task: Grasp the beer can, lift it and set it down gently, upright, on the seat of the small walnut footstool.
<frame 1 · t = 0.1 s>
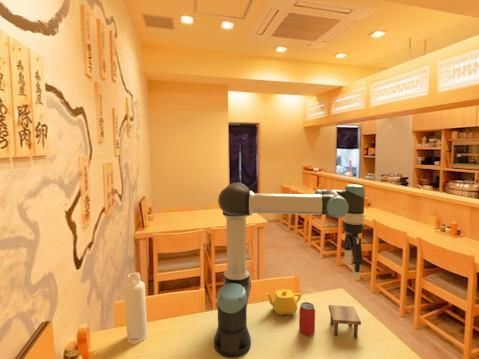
hand: (351, 271, 117), 28 cm above the table, fingers open, 13 cm apart
stool: (343, 329, 122), on the table
bottle: (137, 337, 118), on the table
teapot: (283, 311, 136), on the table
beer can: (306, 331, 121), on the table
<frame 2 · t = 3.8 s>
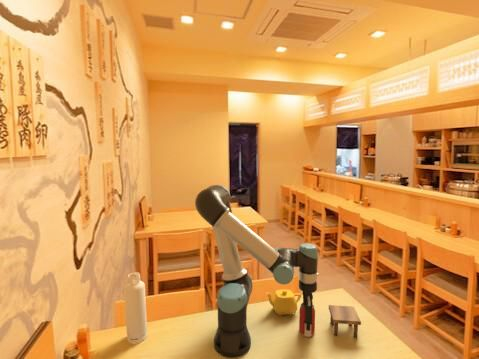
hand: (306, 330, 121), 1 cm above the table, fingers closed on beer can, 7 cm apart
beer can: (306, 331, 121), on the table, touching gripper
everything else where it was.
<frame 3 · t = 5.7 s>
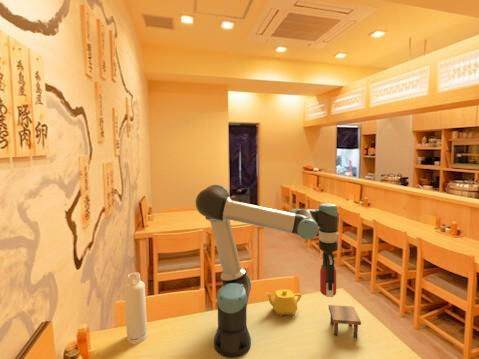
hand: (328, 291, 119), 18 cm above the table, fingers closed on beer can, 7 cm apart
beer can: (328, 293, 119), point 17 cm above the table, touching gripper
everything else where it was.
when the fingers open (10 cm above the table, at t = 7.8 s): beer can drops 1 cm, resting on stool.
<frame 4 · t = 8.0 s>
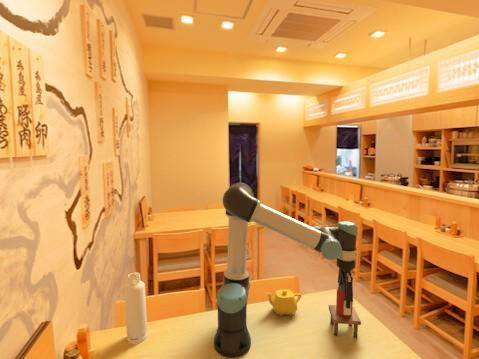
hand: (344, 307, 120), 11 cm above the table, fingers open, 9 cm apart
beer can: (344, 313, 121), point 8 cm above the table, touching stool
everything else where it was.
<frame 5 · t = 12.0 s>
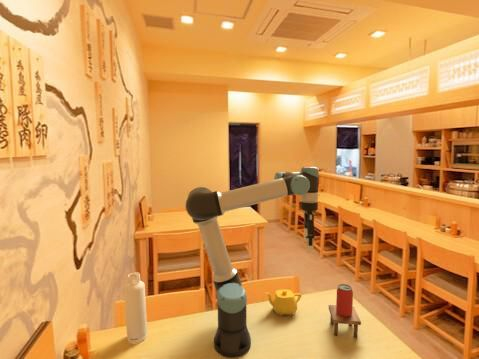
hand: (308, 246, 127), 35 cm above the table, fingers open, 13 cm apart
nothing on the table moved.
at the end: beer can inside the target area on the stool (0.2 cm from its centre), point 7.8 cm above the stool's base; beer can tilted 0°; the gripper is holding nothing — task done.
